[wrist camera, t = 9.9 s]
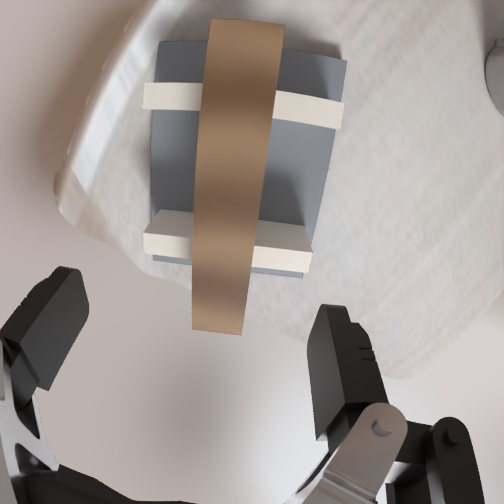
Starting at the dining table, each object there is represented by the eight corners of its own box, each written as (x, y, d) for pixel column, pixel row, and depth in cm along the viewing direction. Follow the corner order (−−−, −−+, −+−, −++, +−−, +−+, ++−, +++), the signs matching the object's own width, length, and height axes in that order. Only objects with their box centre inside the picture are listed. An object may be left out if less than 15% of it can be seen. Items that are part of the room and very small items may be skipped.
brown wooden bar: (220, 31, 16) (211, 18, 12) (280, 37, 16) (285, 25, 12) (200, 298, 27) (192, 329, 23) (243, 303, 27) (241, 335, 24)
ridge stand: (164, 43, 21) (137, 32, 15) (342, 62, 22) (366, 55, 16) (157, 253, 32) (137, 288, 27) (301, 270, 33) (308, 309, 27)
